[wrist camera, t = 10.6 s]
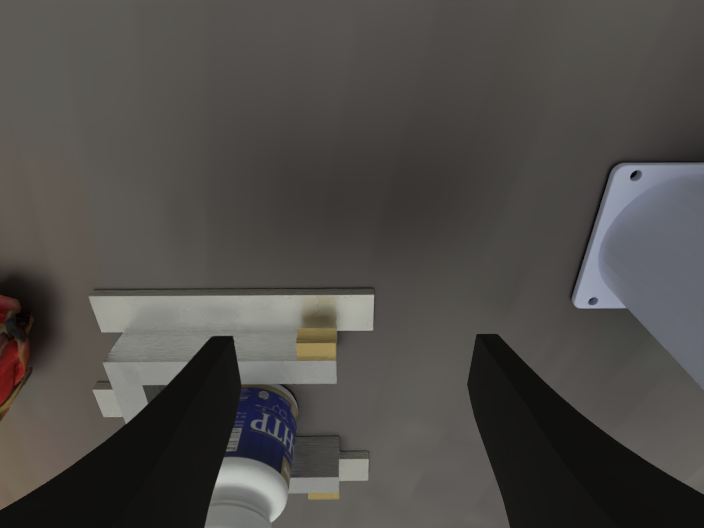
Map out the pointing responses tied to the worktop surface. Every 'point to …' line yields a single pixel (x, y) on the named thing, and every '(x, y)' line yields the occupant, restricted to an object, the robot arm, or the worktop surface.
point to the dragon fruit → (13, 351)
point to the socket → (251, 350)
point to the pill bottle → (256, 460)
